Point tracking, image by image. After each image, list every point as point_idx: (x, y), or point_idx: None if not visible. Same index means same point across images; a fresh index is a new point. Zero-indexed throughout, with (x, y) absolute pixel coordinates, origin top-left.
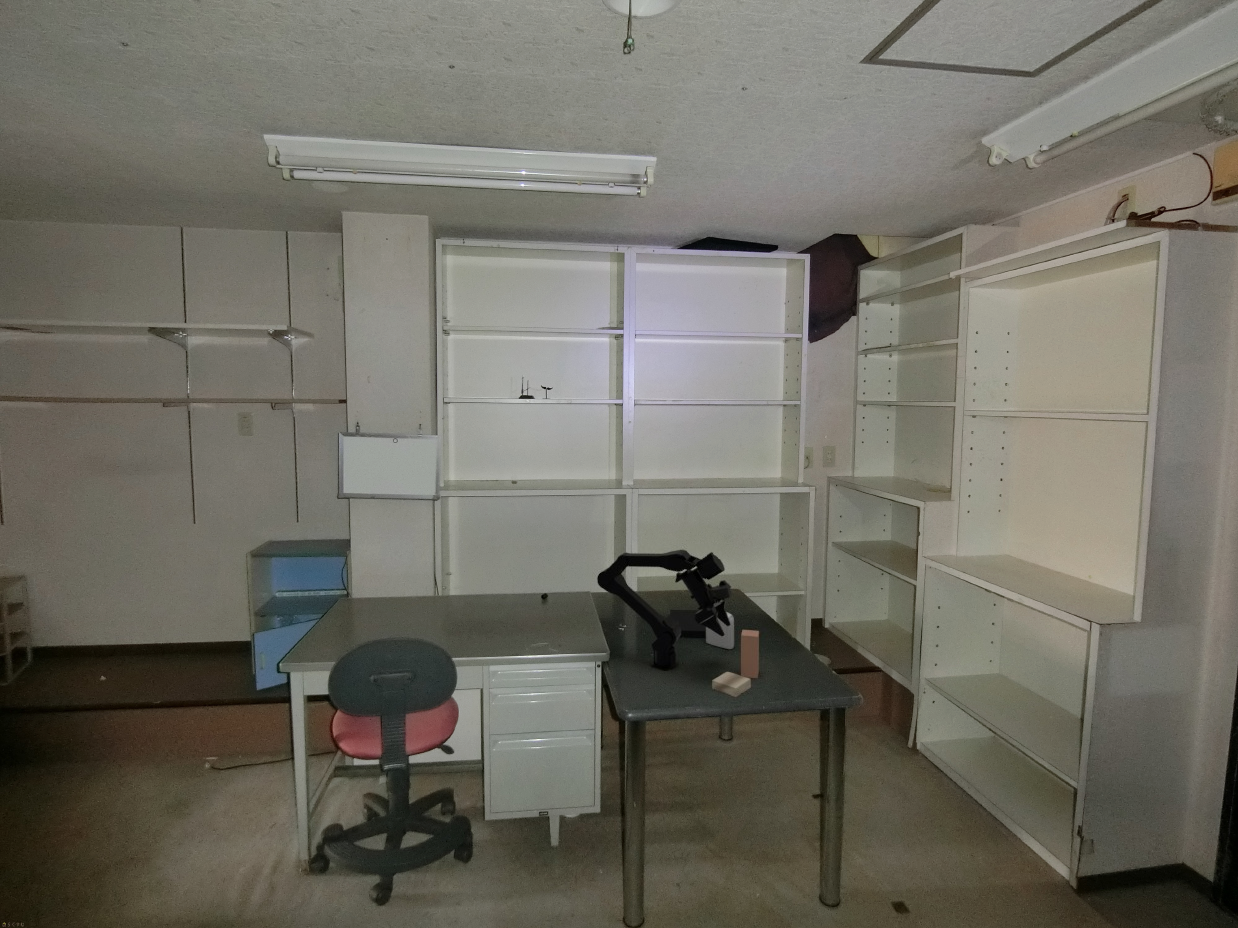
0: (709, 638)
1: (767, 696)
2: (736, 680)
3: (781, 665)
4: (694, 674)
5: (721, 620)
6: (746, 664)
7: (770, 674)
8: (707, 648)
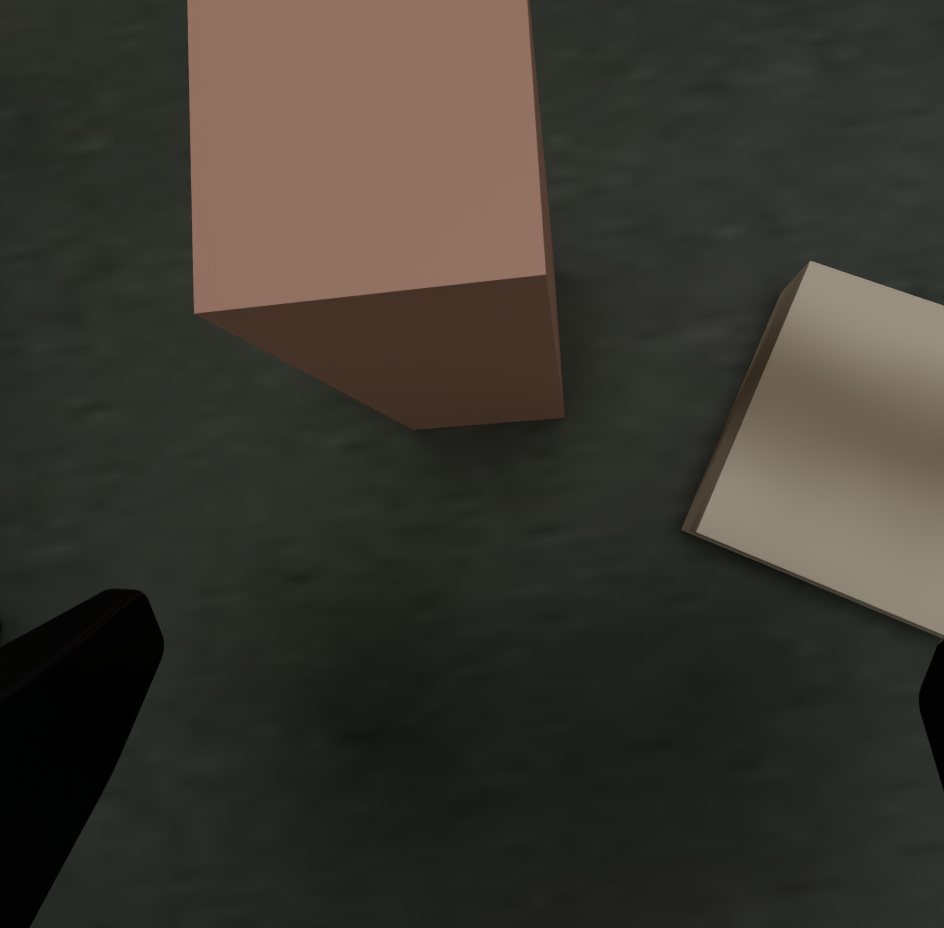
0: None
1: (925, 117)
2: (908, 397)
3: None
4: (661, 872)
5: (47, 873)
6: (557, 334)
7: None
8: None
